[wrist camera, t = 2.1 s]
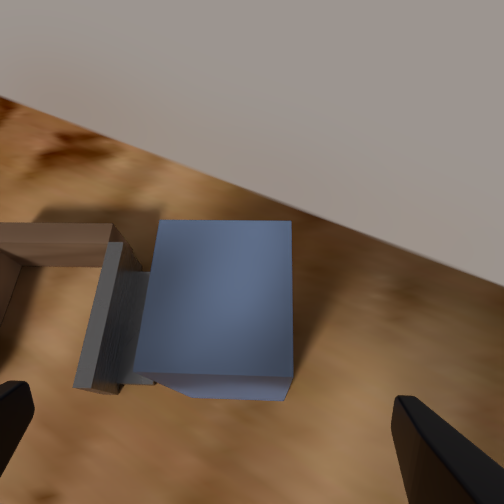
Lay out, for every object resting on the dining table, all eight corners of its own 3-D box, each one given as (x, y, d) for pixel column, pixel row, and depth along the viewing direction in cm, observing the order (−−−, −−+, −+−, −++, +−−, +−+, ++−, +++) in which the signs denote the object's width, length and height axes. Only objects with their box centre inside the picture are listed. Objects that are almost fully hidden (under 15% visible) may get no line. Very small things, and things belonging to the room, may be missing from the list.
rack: (97, 416, 17) (66, 413, 15) (-53, 410, 18) (-110, 406, 15) (132, 249, 22) (112, 223, 19) (9, 247, 22) (-28, 222, 19)
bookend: (153, 396, 18) (132, 389, 15) (102, 394, 18) (72, 387, 15) (172, 266, 21) (158, 242, 18) (129, 266, 21) (108, 242, 18)
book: (283, 401, 17) (293, 377, 10) (191, 397, 18) (132, 371, 10) (283, 301, 20) (291, 219, 12) (202, 299, 20) (159, 218, 12)
